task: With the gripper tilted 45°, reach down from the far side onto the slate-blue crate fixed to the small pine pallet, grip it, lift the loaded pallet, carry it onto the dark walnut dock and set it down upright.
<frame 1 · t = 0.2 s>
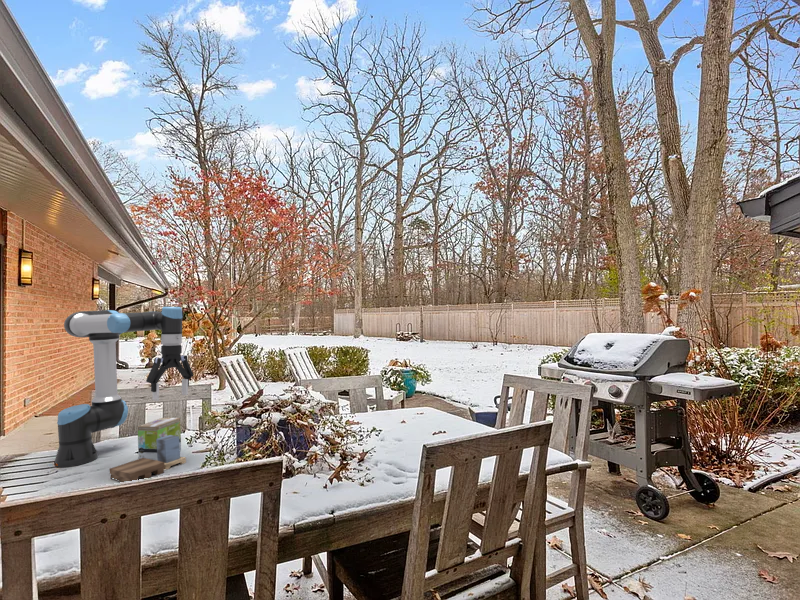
hand: (170, 397, 187), 28 cm above the table, tool pointing down, fingers open, 13 cm apart
tea box: (160, 455, 203), on the table
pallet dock: (137, 475, 178), on the table
loaded pallet: (169, 464, 189), on the table
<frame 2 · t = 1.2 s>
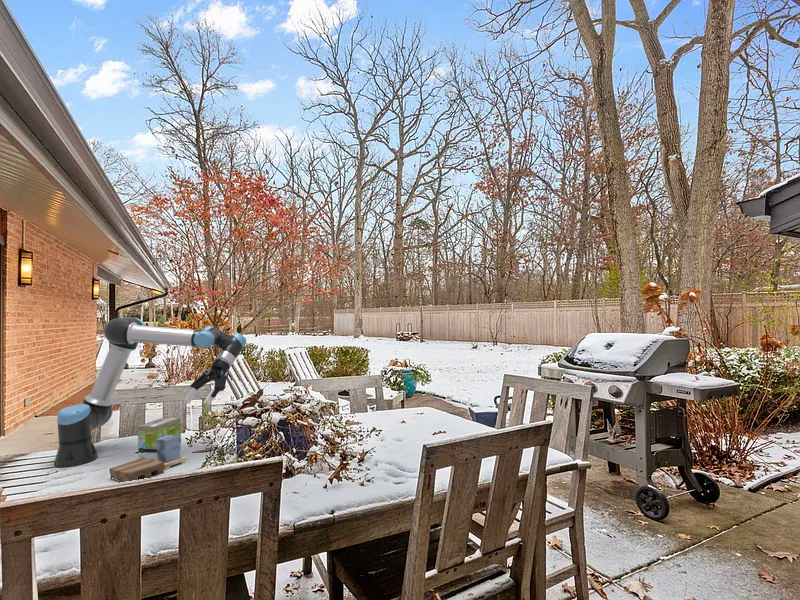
hand: (196, 402, 201), 22 cm above the table, tool tilted 45°, fingers open, 13 cm apart
nothing on the table moved.
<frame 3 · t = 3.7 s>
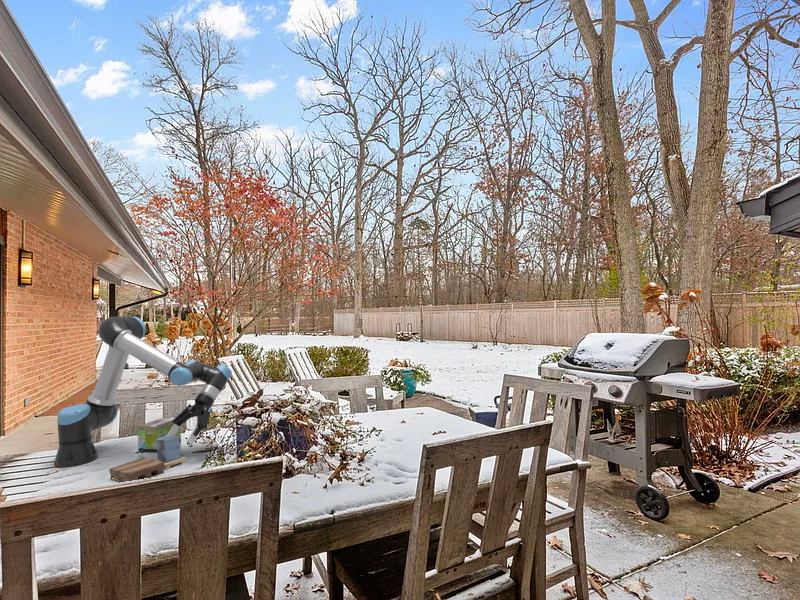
hand: (178, 441, 192), 9 cm above the table, tool tilted 45°, fingers open, 13 cm apart
nothing on the table moved.
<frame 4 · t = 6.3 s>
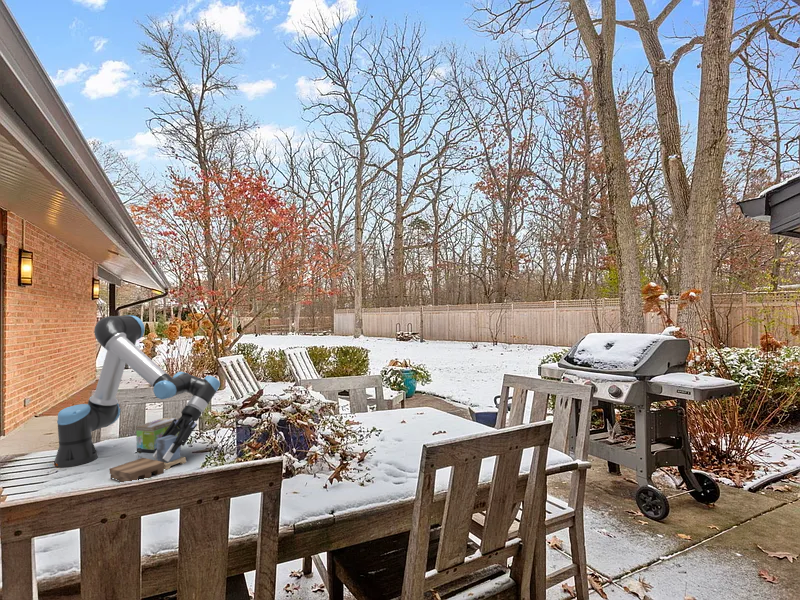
hand: (160, 458, 186), 3 cm above the table, tool tilted 45°, fingers closed on loaded pallet, 6 cm apart
loaded pallet: (169, 464, 189), on the table, touching gripper
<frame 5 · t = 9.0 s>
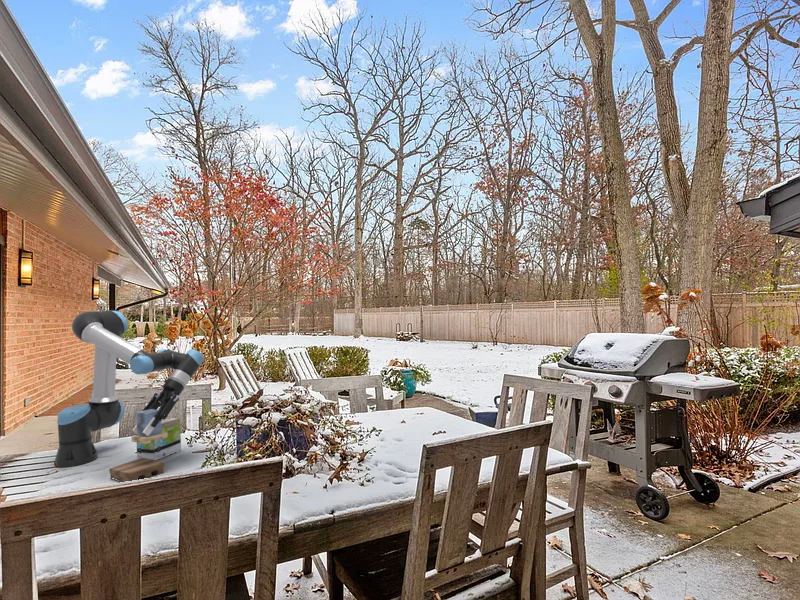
hand: (140, 433, 179), 16 cm above the table, tool tilted 45°, fingers closed on loaded pallet, 6 cm apart
loaded pallet: (149, 439, 182), point 13 cm above the table, touching gripper
everything else where it was.
when the fingers open (9 cm above the table, at t = 12.0 s): loaded pallet drops 1 cm, resting on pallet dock.
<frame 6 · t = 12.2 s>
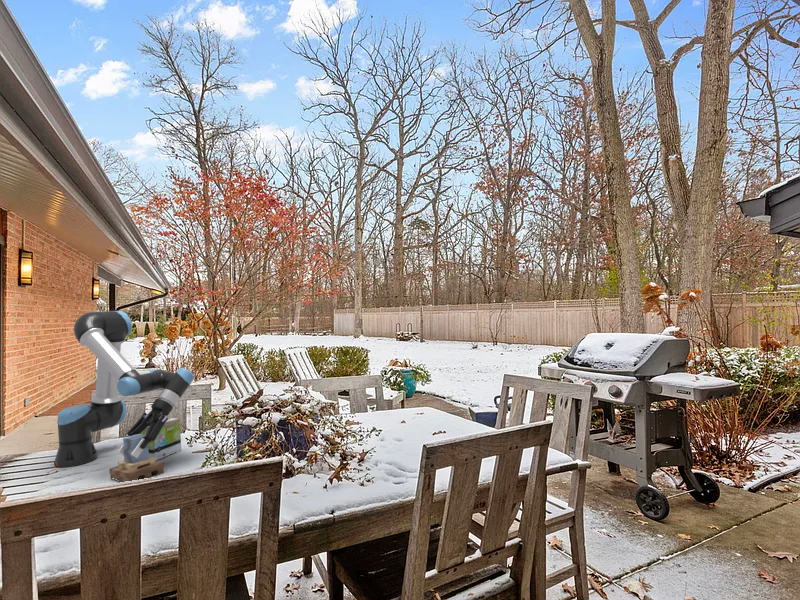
hand: (127, 454, 175), 9 cm above the table, tool tilted 45°, fingers open, 8 cm apart
loaded pallet: (137, 465, 178), point 4 cm above the table, touching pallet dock
everything else where it was.
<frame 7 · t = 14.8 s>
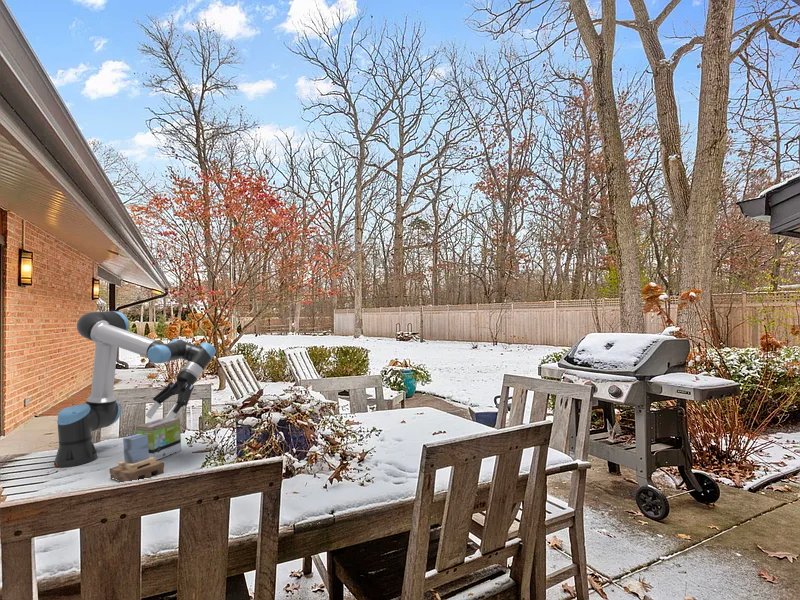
hand: (157, 418, 186), 20 cm above the table, tool tilted 45°, fingers open, 13 cm apart
nothing on the table moved.
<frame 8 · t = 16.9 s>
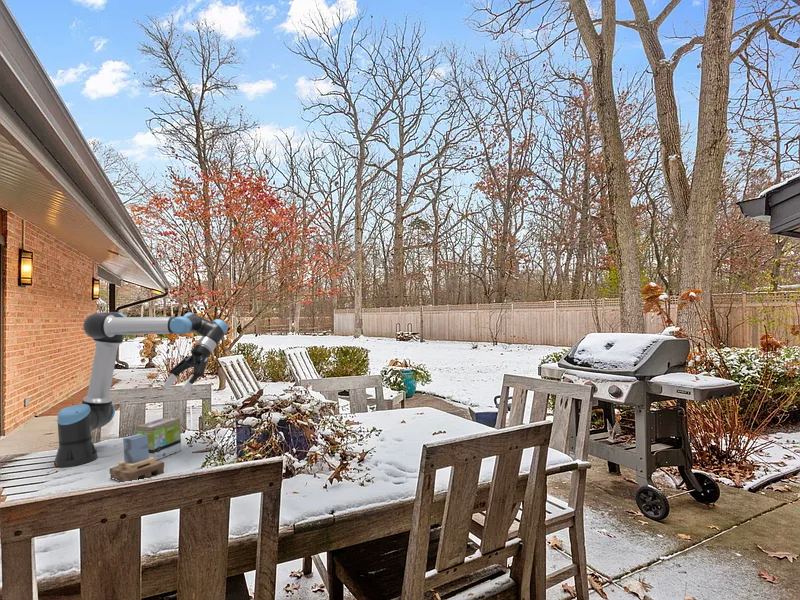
hand: (174, 388, 196), 30 cm above the table, tool tilted 45°, fingers open, 13 cm apart
nothing on the table moved.
at the end: loaded pallet inside the target area on the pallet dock (0.1 cm from its centre), point 4.0 cm above the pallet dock's base; loaded pallet tilted 0°; the gripper is holding nothing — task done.
